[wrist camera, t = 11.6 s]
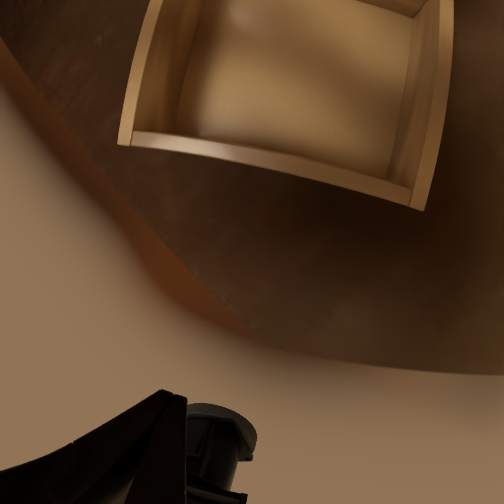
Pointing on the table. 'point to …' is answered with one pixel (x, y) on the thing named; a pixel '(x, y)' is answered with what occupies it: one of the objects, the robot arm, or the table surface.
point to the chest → (298, 88)
